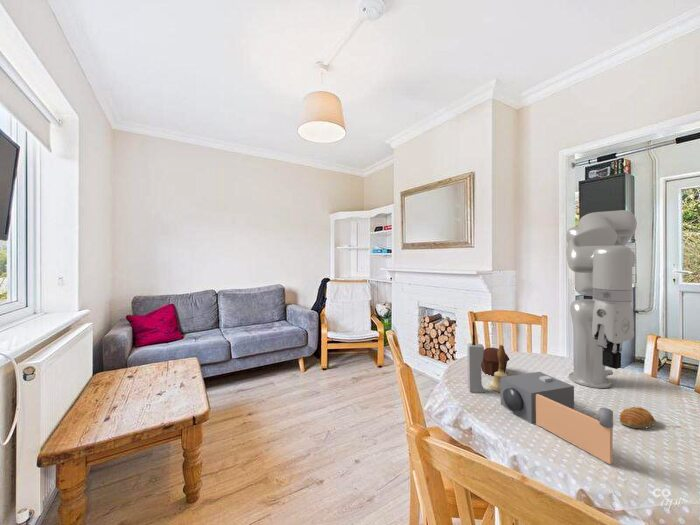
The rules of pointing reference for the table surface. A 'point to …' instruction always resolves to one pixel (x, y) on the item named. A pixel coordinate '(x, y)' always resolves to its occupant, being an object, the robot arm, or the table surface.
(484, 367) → the muffin
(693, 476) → the table surface
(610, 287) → the robot arm
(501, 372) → the hand bell
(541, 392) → the cabinet body
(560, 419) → the side door
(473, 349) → the vintage mobile phone
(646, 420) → the pastry
